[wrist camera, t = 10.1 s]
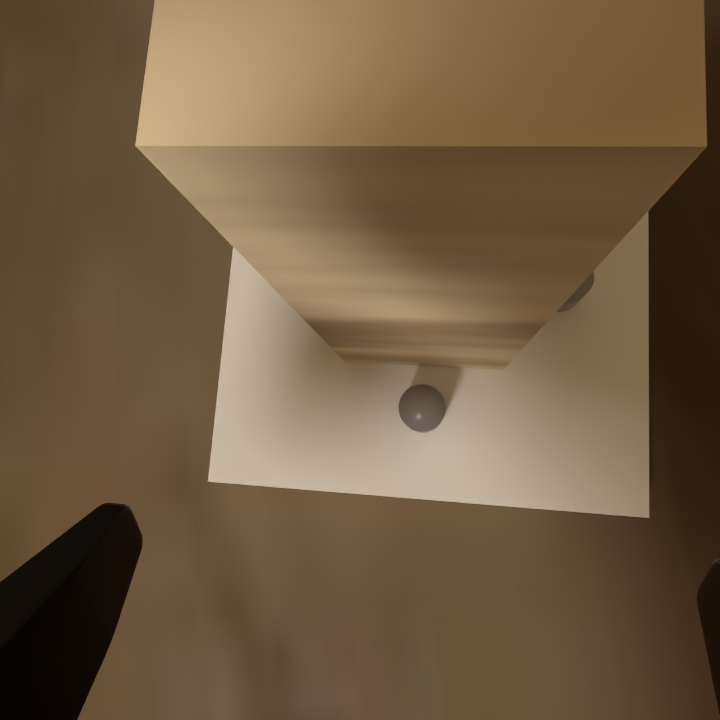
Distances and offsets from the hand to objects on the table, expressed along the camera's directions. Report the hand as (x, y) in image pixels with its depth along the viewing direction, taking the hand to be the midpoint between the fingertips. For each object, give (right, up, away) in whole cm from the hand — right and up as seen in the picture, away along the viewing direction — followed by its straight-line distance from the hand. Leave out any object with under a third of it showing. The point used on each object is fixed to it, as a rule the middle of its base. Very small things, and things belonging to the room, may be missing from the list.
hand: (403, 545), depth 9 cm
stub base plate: (+2, +5, +12) cm, 13 cm away
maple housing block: (+2, +5, +10) cm, 12 cm away
